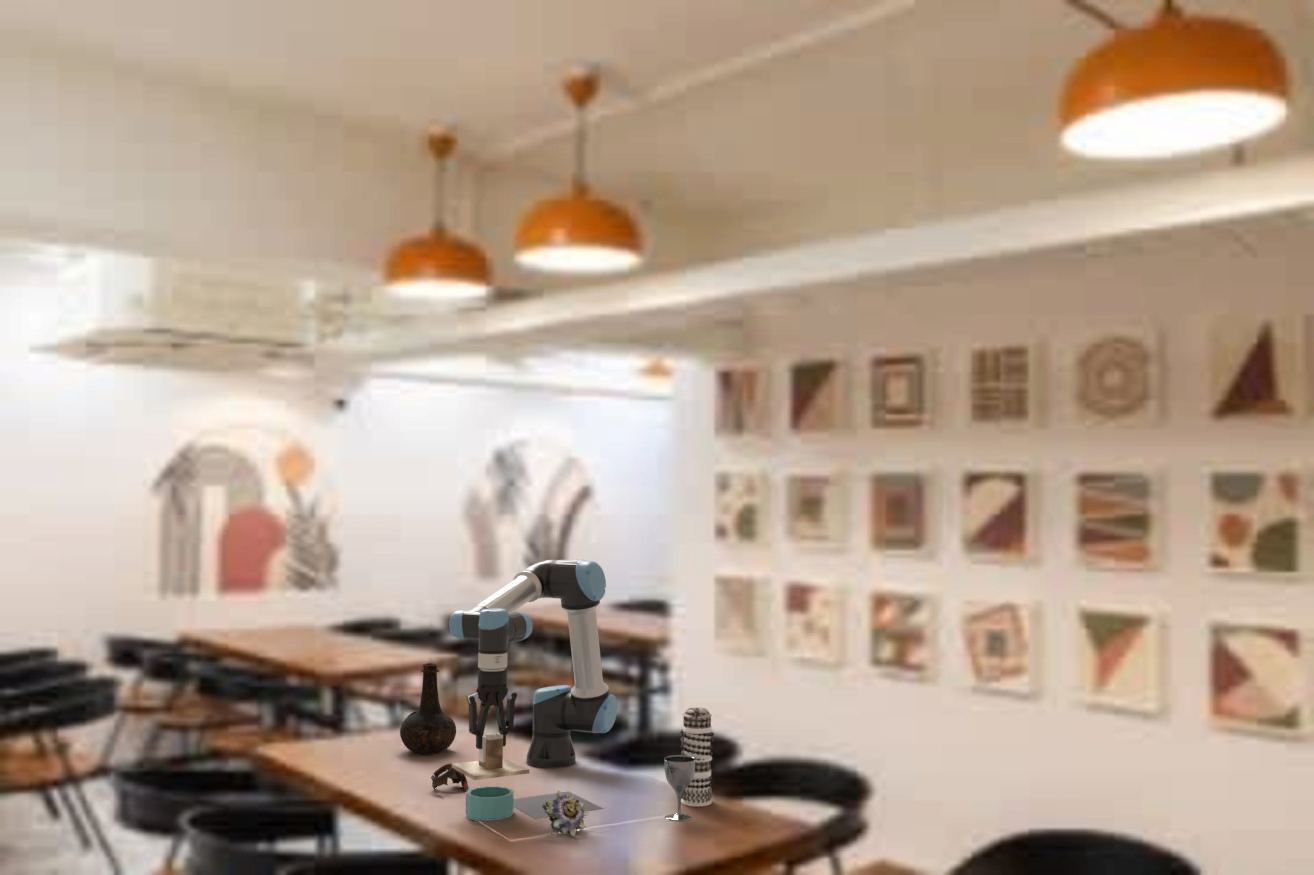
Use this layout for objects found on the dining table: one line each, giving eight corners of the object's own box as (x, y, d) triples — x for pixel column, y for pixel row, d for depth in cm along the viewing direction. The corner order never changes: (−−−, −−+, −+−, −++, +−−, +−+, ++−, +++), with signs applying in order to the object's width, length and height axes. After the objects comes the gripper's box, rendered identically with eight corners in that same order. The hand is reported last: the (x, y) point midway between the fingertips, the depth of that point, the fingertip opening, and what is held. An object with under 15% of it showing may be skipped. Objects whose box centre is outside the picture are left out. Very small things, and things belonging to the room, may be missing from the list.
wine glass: (698, 815, 300) (698, 756, 300) (689, 823, 292) (689, 763, 293) (669, 811, 302) (670, 754, 303) (659, 819, 295) (660, 760, 296)
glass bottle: (429, 743, 381) (431, 658, 382) (467, 750, 370) (469, 663, 372) (387, 752, 366) (389, 664, 368) (426, 760, 356) (428, 669, 357)
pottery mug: (467, 796, 317) (453, 771, 316) (438, 809, 318) (423, 785, 317) (476, 774, 329) (462, 750, 328) (447, 787, 330) (433, 764, 329)
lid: (505, 761, 307) (505, 729, 308) (529, 773, 294) (530, 739, 295) (452, 767, 299) (453, 734, 300) (474, 780, 287) (475, 745, 287)
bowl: (501, 807, 305) (502, 784, 305) (520, 818, 295) (521, 794, 295) (459, 813, 298) (459, 789, 299) (477, 824, 288) (477, 800, 289)
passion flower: (571, 858, 280) (557, 826, 274) (540, 841, 287) (526, 809, 281) (601, 825, 286) (588, 792, 280) (570, 809, 293) (557, 776, 287)
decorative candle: (689, 808, 306) (690, 713, 307) (673, 800, 314) (674, 707, 315) (719, 804, 310) (720, 711, 311) (702, 796, 318) (703, 705, 320)
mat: (568, 793, 320) (568, 791, 320) (603, 810, 303) (603, 808, 303) (502, 802, 309) (502, 800, 309) (534, 821, 292) (534, 819, 292)
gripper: (467, 673, 291) (465, 767, 289) (528, 668, 300) (526, 759, 298) (456, 669, 297) (454, 761, 296) (516, 665, 306) (514, 754, 305)
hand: (490, 760), depth 297 cm, fingers closed on lid, 4 cm apart
